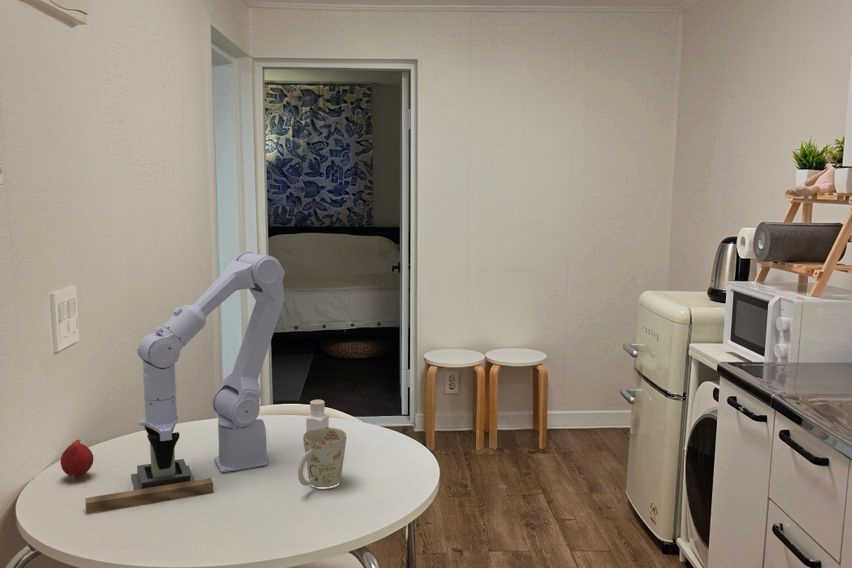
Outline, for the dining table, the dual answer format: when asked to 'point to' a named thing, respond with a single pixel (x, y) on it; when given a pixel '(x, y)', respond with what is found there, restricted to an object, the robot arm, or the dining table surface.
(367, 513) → the dining table surface
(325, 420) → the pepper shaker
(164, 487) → the door edge rail
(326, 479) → the mug
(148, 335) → the robot arm
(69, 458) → the onion
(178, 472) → the keeper
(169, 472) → the stop block
